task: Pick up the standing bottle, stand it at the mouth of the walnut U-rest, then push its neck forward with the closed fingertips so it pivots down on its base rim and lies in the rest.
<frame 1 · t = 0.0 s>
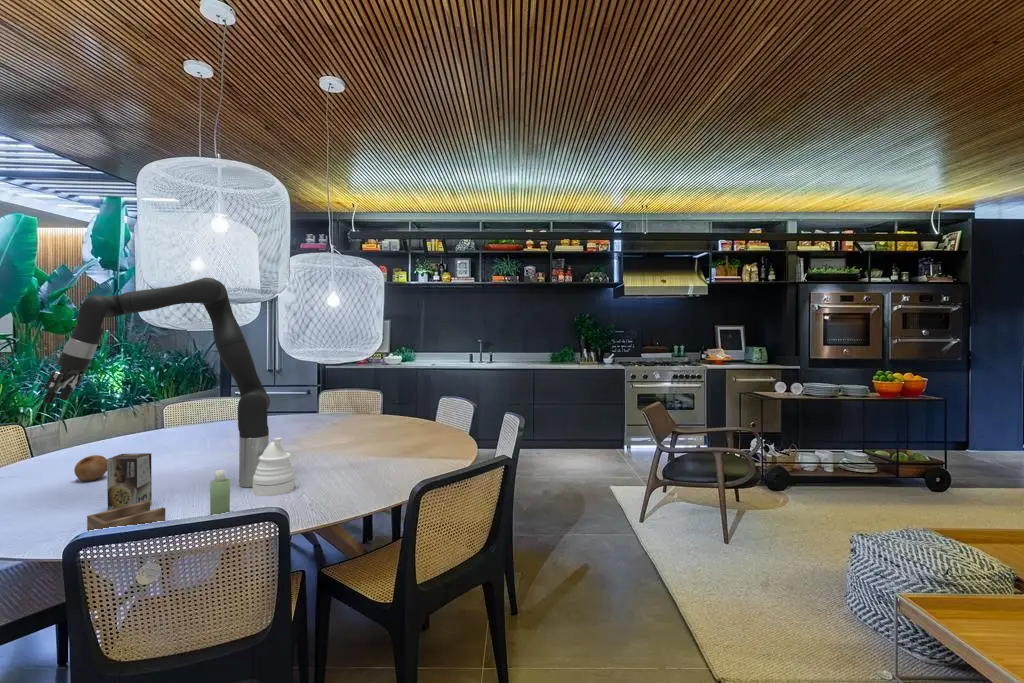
hand: (55, 401, 152), 31 cm above the table, tool tilted 20°, fingers open, 8 cm apart
coffee box: (129, 508, 146), on the table
bottle: (220, 514, 142), on the table
honey pot: (273, 490, 165), on the table
u rest: (129, 525, 133), on the table
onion: (91, 480, 174), on the table
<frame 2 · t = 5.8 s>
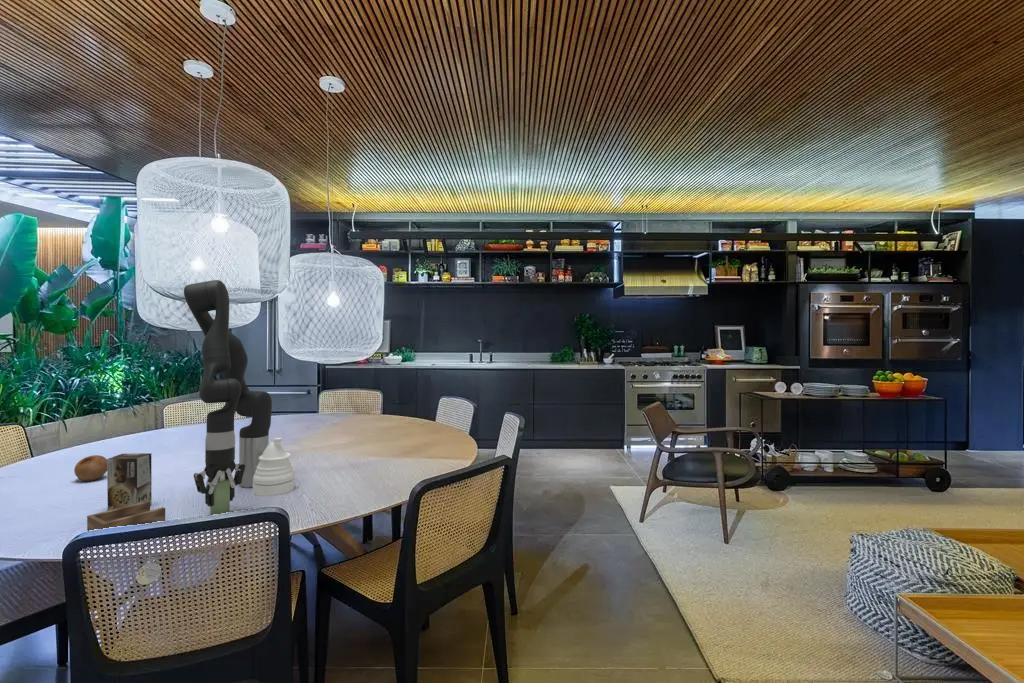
hand: (220, 502, 142), 3 cm above the table, tool pointing down, fingers closed on bottle, 5 cm apart
bottle: (220, 514, 142), on the table, touching gripper
everything else where it was.
when the fingers open (4 cm above the table, at t = 11.4 s): bottle stays where it is, on the table.
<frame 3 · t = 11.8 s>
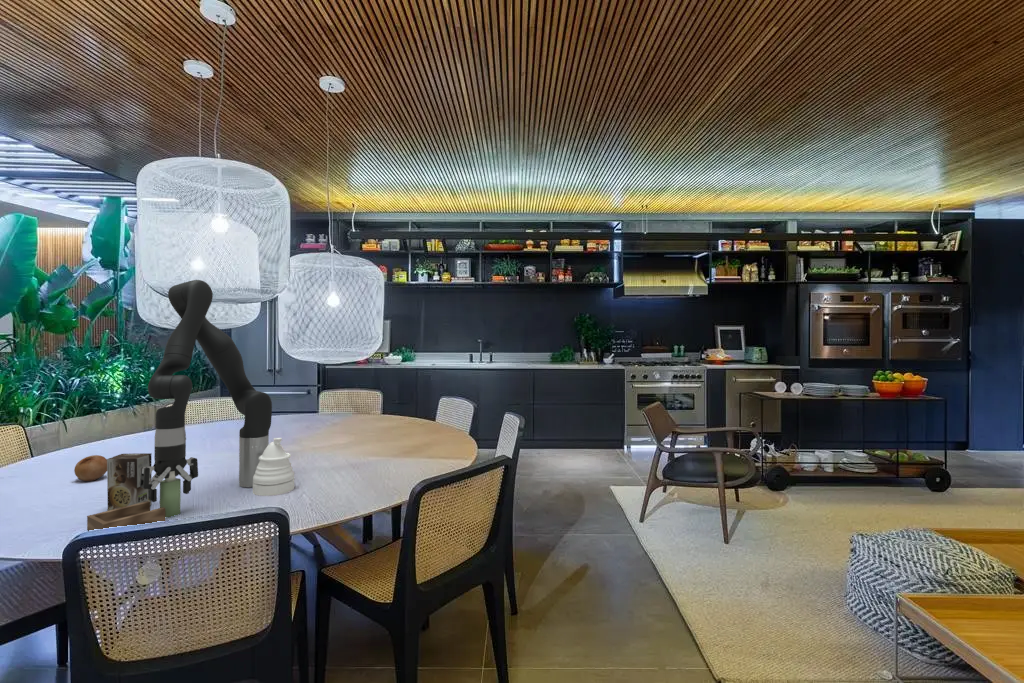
hand: (170, 497, 141), 5 cm above the table, tool pointing down, fingers open, 8 cm apart
bottle: (170, 514, 141), on the table
everything else where it was.
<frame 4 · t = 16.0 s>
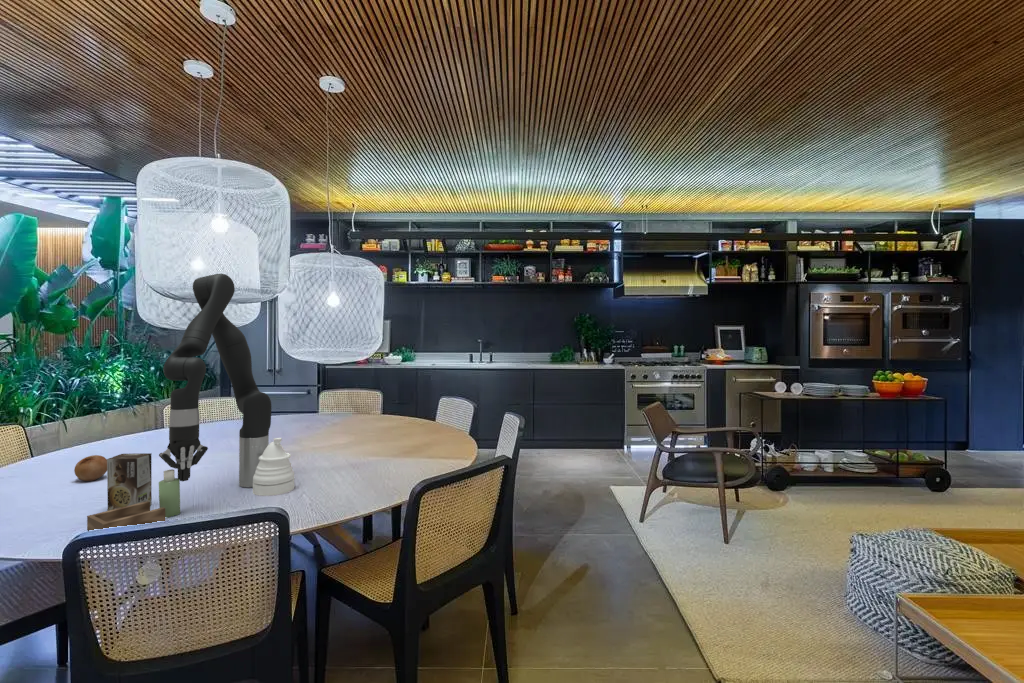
hand: (183, 480, 144), 9 cm above the table, tool pointing down, fingers closed
bottle: (170, 514, 141), on the table, touching gripper
everything else where it was.
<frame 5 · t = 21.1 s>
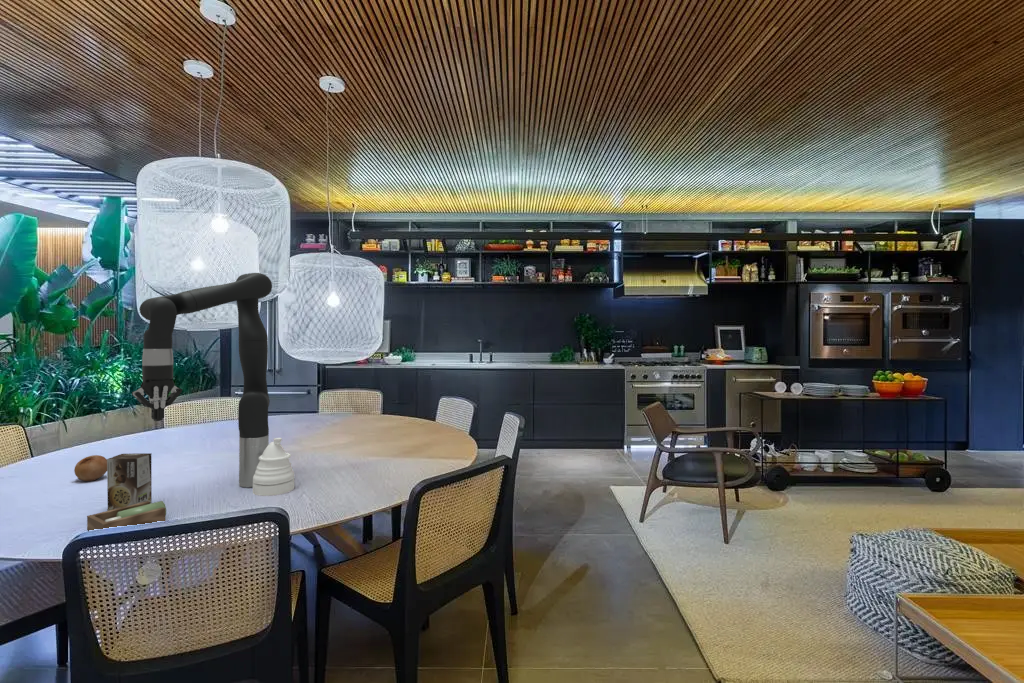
hand: (157, 420, 145), 27 cm above the table, tool pointing down, fingers closed
bottle: (162, 509, 139), point 2 cm above the table, tilted 90°
everything else where it was.
at the end: bottle tilted 90°; bottle inside the target area on the u rest (4.7 cm from its centre), point 2.3 cm above the u rest's base; the gripper is holding nothing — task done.
